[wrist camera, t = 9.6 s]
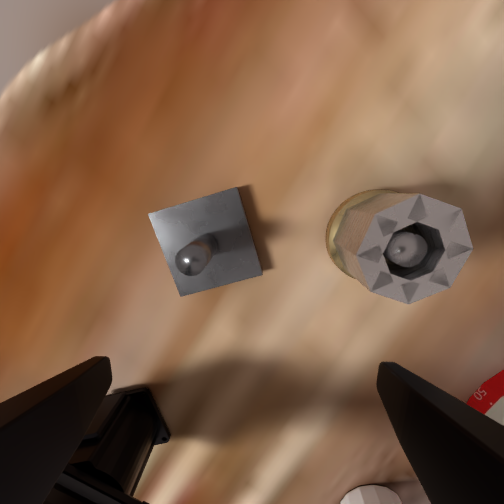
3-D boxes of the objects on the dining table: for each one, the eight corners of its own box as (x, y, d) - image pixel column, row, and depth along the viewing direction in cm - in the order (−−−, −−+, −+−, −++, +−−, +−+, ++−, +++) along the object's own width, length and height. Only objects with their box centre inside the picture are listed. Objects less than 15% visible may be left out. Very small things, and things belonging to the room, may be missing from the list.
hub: (420, 264, 19) (476, 289, 14) (335, 286, 20) (360, 317, 15) (409, 178, 17) (467, 172, 13) (317, 205, 18) (338, 209, 13)
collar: (394, 285, 18) (435, 313, 14) (323, 261, 18) (343, 282, 14) (432, 212, 17) (490, 218, 13) (356, 185, 17) (389, 182, 12)
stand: (262, 270, 20) (263, 299, 14) (184, 291, 20) (157, 326, 15) (237, 187, 18) (228, 184, 13) (153, 213, 19) (111, 220, 13)
